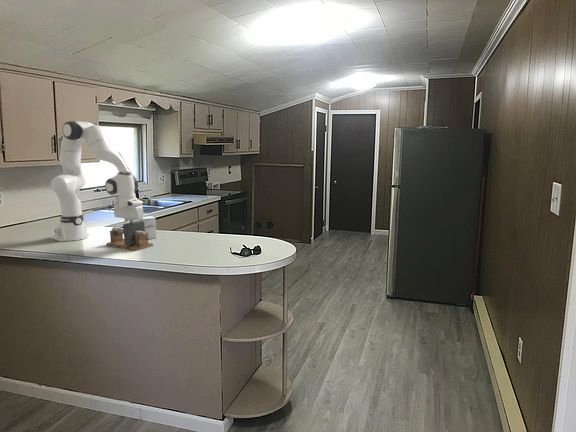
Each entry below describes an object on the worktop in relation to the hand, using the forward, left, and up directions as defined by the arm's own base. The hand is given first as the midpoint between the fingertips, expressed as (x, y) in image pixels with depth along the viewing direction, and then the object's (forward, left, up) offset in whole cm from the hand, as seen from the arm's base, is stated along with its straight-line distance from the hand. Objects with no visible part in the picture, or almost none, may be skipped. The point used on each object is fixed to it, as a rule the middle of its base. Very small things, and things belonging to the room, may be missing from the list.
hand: (129, 226), depth 252 cm
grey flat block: (+4, 0, -9) cm, 9 cm away
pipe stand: (-1, 0, -11) cm, 11 cm away
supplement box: (-7, +19, -11) cm, 23 cm away
